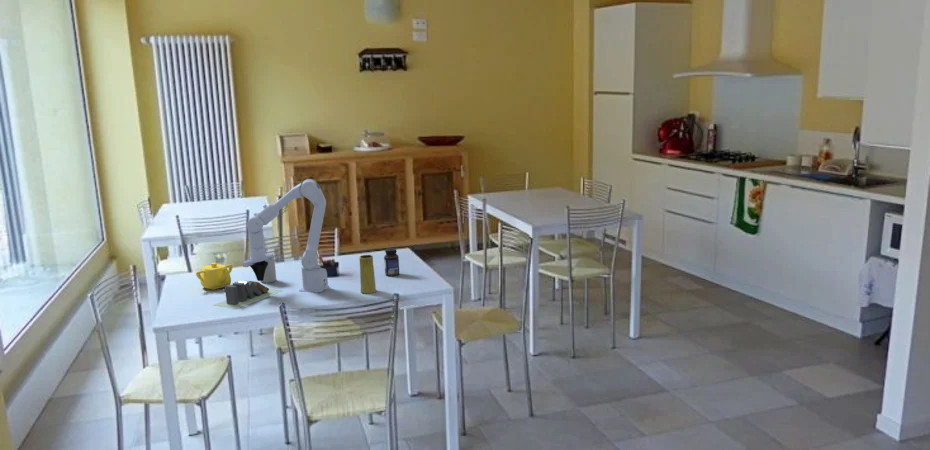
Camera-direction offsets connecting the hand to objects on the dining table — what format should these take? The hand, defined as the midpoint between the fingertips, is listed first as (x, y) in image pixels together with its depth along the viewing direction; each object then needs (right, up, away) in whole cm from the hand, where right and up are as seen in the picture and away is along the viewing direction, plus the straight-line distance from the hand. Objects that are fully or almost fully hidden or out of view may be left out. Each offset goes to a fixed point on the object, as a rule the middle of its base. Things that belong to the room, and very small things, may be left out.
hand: (260, 280), depth 280 cm
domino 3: (-3, -6, -5) cm, 8 cm away
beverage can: (-2, -2, +18) cm, 18 cm away
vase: (+43, -4, -1) cm, 43 cm away
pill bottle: (+50, +1, +22) cm, 55 cm away
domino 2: (-5, -7, -8) cm, 12 cm away
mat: (-3, -7, -5) cm, 9 cm away
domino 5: (+1, -4, +2) cm, 5 cm away
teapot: (-22, -4, +13) cm, 25 cm away
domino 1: (-7, -8, -12) cm, 16 cm away
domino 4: (-1, -5, -2) cm, 5 cm away
